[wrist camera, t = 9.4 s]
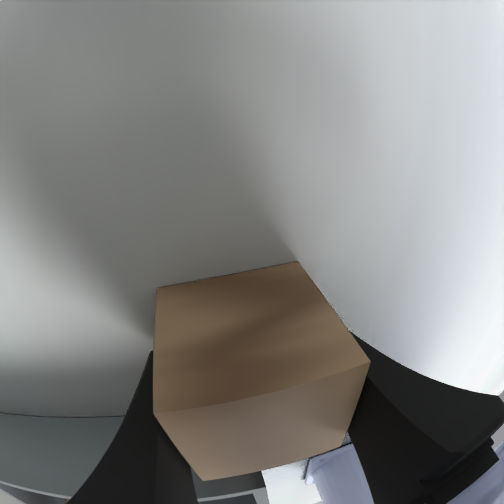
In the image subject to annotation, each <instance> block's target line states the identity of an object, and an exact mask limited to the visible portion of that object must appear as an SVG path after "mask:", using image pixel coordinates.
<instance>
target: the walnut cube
mask: <svg viewBox="0 0 504 504" xmlns="http://www.w3.org/2000/svg"><path fill="white" fill-rule="evenodd" d="M370 362H371V361H370V360H369V358H368V357H367V355H366V354H365V353H364V351H363V350H362V348H361V347H360V346H359V344H358V343H357V341H356V340H355V339H354V337H353V336H352V334H351V333H350V332H349V330H348V329H347V327H346V326H345V325H344V323H343V322H342V320H341V319H340V318H339V316H338V315H337V314H336V312H335V311H334V309H333V308H332V307H331V305H330V304H329V303H328V301H327V300H326V298H325V297H324V296H323V294H322V293H321V292H320V290H319V289H318V288H317V286H316V285H315V284H314V282H313V281H312V280H311V278H310V277H309V276H308V274H307V273H306V272H305V270H304V269H303V268H302V266H301V265H300V264H299V262H298V261H297V262H292V263H287V264H282V265H277V266H272V267H267V268H262V269H257V270H252V271H246V272H241V273H236V274H231V275H225V276H220V277H215V278H209V279H204V280H199V281H193V282H188V283H182V284H177V285H171V286H166V287H160V288H157V293H156V307H155V325H154V350H153V414H154V415H155V417H156V418H157V420H158V421H159V423H160V424H161V426H162V427H163V429H164V430H165V432H166V433H167V435H168V436H169V438H170V439H171V440H172V442H173V443H174V445H175V446H176V447H177V449H178V450H179V451H180V453H181V454H182V455H183V457H184V458H185V459H186V461H187V462H188V463H189V465H190V466H191V467H192V468H193V470H194V471H195V472H196V473H197V475H198V476H199V477H200V478H201V480H202V481H207V480H215V479H221V478H227V477H233V476H238V475H243V474H248V473H253V472H258V471H262V470H266V469H270V468H274V467H278V466H282V465H286V464H289V463H293V462H296V461H300V460H303V459H306V458H309V457H312V456H315V455H318V454H321V453H324V452H327V451H330V450H333V449H335V448H338V447H341V445H342V443H343V440H344V438H345V435H346V433H347V430H348V427H349V425H350V422H351V419H352V417H353V414H354V411H355V408H356V406H357V403H358V400H359V397H360V394H361V391H362V388H363V385H364V382H365V378H366V375H367V372H368V369H369V365H370Z"/></svg>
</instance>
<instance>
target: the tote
mask: <svg viewBox="0 0 504 504" xmlns="http://www.w3.org/2000/svg"><path fill="white" fill-rule="evenodd" d="M124 417H125V416H118V417H94V418H60V417H37V416H23V415H13V414H4V413H0V490H1V491H3V492H4V493H6V494H8V495H9V496H11V497H13V498H14V499H16V500H18V501H19V502H21V503H23V504H65V499H71V498H72V497H73V496H74V494H75V493H76V492H77V491H78V490H79V488H80V487H81V486H82V485H83V483H84V482H85V481H86V480H87V478H88V477H89V476H90V474H91V473H92V472H93V470H94V469H95V467H96V466H97V465H98V463H99V462H100V460H101V458H102V457H103V455H104V454H105V452H106V451H107V449H108V447H109V446H110V444H111V442H112V440H113V439H114V437H115V435H116V433H117V431H118V429H119V427H120V425H121V423H122V421H123V419H124ZM191 473H192V478H193V482H194V487H195V492H196V496H197V500H198V504H269V500H268V495H267V490H266V485H265V482H264V479H263V476H262V472H261V471H258V472H253V473H248V474H243V475H238V476H233V477H227V478H221V479H215V480H207V481H202V480H201V478H200V477H199V476H198V475H197V473H196V472H195V471H194V470H193V468H192V467H191Z"/></svg>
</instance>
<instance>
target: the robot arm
mask: <svg viewBox="0 0 504 504" xmlns="http://www.w3.org/2000/svg"><path fill="white" fill-rule="evenodd" d="M349 332H350V331H349ZM350 333H351V334H352V336H353V337H354V339H355V340H356V341H357V343H358V344H359V346H360V347H361V348H362V350H363V351H364V353H365V354H366V355H367V357H368V358H369V360H370V361H371V362H370V365H369V369H368V372H367V375H366V378H365V382H364V385H363V388H362V391H361V394H360V397H359V400H358V403H357V406H356V408H355V411H354V414H353V417H352V419H351V422H350V425H349V427H348V430H347V431H348V434H349V436H350V438H351V441H352V444H349V445H347V446H344V447H342V448H339V449H336V450H334V451H331V452H328V453H325V454H322V455H319V456H316V457H314V458H312V459H310V461H309V465H308V469H307V474H306V478H305V484H306V485H308V484H312V483H315V484H316V487H317V489H318V492H319V494H320V496H321V499H322V501H323V504H504V441H503V442H502V443H501V444H500V445H499V446H497V447H496V448H495V449H494V450H493V449H492V447H491V446H492V445H493V444H494V441H493V440H492V439H491V436H492V435H493V434H494V433H495V432H496V431H497V430H498V429H499V428H500V427H501V426H502V424H503V423H504V402H503V401H502V400H501V399H500V398H499V396H496V395H489V394H483V393H477V392H472V391H468V390H464V389H461V388H457V387H454V386H450V385H447V384H444V383H442V382H439V381H436V380H434V379H431V378H429V377H426V376H424V375H421V374H419V373H417V372H415V371H413V370H411V369H409V368H407V367H405V366H403V365H401V364H399V363H397V362H396V361H394V360H392V359H391V358H389V357H387V356H386V355H384V354H382V353H381V352H379V351H378V350H376V349H375V348H373V347H372V346H370V345H369V344H367V343H366V342H364V341H363V340H361V339H360V338H359V337H357V336H356V335H354V334H353V333H352V332H350ZM66 504H198V500H197V496H196V492H195V487H194V482H193V478H192V473H191V466H190V465H189V463H188V462H187V461H186V459H185V458H184V457H183V455H182V454H181V453H180V451H179V450H178V449H177V447H176V446H175V445H174V443H173V442H172V440H171V439H170V438H169V436H168V435H167V433H166V432H165V430H164V429H163V427H162V426H161V424H160V423H159V421H158V420H157V418H156V417H155V415H154V414H153V351H151V352H150V354H149V357H148V360H147V363H146V366H145V368H144V371H143V374H142V377H141V379H140V382H139V384H138V387H137V389H136V392H135V394H134V397H133V399H132V402H131V404H130V406H129V408H128V410H127V413H126V415H125V417H124V419H123V421H122V423H121V425H120V427H119V429H118V431H117V433H116V435H115V437H114V439H113V440H112V442H111V444H110V446H109V447H108V449H107V451H106V452H105V454H104V455H103V457H102V458H101V460H100V462H99V463H98V465H97V466H96V467H95V469H94V470H93V472H92V473H91V474H90V476H89V477H88V478H87V480H86V481H85V482H84V483H83V485H82V486H81V487H80V488H79V490H78V491H77V492H76V493H75V494H74V496H73V497H72V498H71V499H70V500H69V501H68V502H67V503H66Z"/></svg>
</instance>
